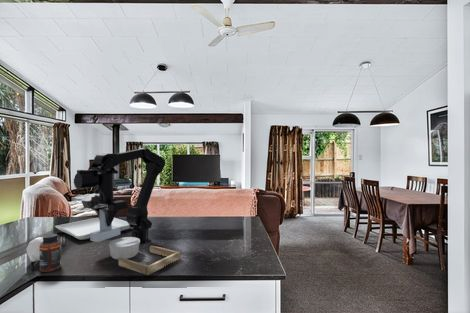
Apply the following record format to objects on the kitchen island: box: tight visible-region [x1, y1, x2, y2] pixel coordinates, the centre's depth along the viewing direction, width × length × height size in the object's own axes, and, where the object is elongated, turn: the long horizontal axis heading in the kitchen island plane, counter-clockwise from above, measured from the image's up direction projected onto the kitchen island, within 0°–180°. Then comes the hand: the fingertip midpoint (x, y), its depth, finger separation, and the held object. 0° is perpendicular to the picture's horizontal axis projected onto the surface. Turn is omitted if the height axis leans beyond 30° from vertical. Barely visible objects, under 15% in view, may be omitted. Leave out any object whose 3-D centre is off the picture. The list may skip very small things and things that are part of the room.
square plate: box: [54, 217, 132, 241], centre depth 131 cm, size 27×27×4 cm
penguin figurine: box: [25, 236, 43, 262], centre depth 97 cm, size 6×8×12 cm
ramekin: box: [108, 236, 141, 260], centre depth 100 cm, size 11×11×5 cm
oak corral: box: [118, 245, 181, 276], centre depth 93 cm, size 15×14×2 cm
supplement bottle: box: [39, 233, 62, 273], centre depth 87 cm, size 6×6×11 cm
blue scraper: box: [89, 208, 121, 243], centre depth 101 cm, size 4×10×11 cm, turn 152°
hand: (105, 225), depth 101 cm, fingers closed on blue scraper, 3 cm apart
